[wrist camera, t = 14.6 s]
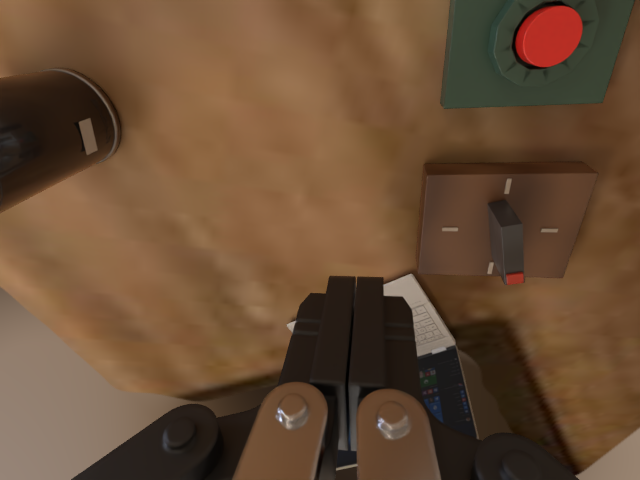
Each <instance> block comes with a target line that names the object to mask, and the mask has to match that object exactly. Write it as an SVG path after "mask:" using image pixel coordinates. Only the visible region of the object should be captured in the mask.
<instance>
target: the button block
mask: <svg viewBox="0 0 640 480" xmlns="http://www.w3.org/2000/svg"><path fill="white" fill-rule="evenodd" d="M634 1H635V0H450V10H449V20H448V30H447V40H446V51H445V61H444V71H443V81H442V91H441V101H440V104H441V105H442V106H443V108H444V109H451V108H479V107H506V106H533V105H561V104H588V103H602V102H603V99H604V96H605V93H606V90H607V87H608V83H609V80H610V77H611V74H612V71H613V68H614V64H615V61H616V58H617V55H618V52H619V49H620V45H621V42H622V39H623V36H624V33H625V29H626V26H627V23H628V20H629V17H630V14H631V10H632V7H633V4H634ZM549 6H567V7H570V8H572V9H574V10H575V11H576V12H577V13H578V14H579V16H580V18H581V20H582V27H583V29H582V36H581V39H580V41H579V44H578V45H577V47H576V49H575V50H574V51H573V52H572V54H571V55H570V56H569V57H568V58H566V59H565V60H564V61H562V62H560V63H558V64H556V65H554V66H550V67H538V66H535V65H532V64H529V63H526V62H524V61H523V60H522V59H521V58H520V57H519V56H518V54H517V51H516V46H515V41H516V36H517V32H518V30H519V28H520V26H521V25H522V23H523V22H524V20H525V19H526V18H527V17H528V16H529V15H531V14H532V13H533V12H535V11H537V10H538V9H541V8H544V7H549Z"/></svg>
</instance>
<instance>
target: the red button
mask: <svg viewBox="0 0 640 480" xmlns="http://www.w3.org/2000/svg"><path fill="white" fill-rule="evenodd" d="M582 29H583V27H582V20H581V18H580V16H579V14H578V13H577V12H576V11H575V10H574V9H572V8H570V7H567V6H549V7H544V8H541V9H538V10H537V11H535V12H533V13H532V14H531V15H529V16H528V17H527V18H526V19H525V20H524V22H523V23H522V25H521V26H520V28H519V30H518V32H517V36H516V41H515V46H516V51H517V54H518V56H519V57H520V58H521V59H522V60H523V61H524V62H526V63H529V64H532V65H535V66H538V67H550V66H554V65H556V64H558V63H560V62H562V61H564V60H565V59H566V58H568V57H569V56H570V55H571V54H572V52H573V51H574V50H575V49H576V47H577V45H578V44H579V41H580V39H581V36H582Z"/></svg>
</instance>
